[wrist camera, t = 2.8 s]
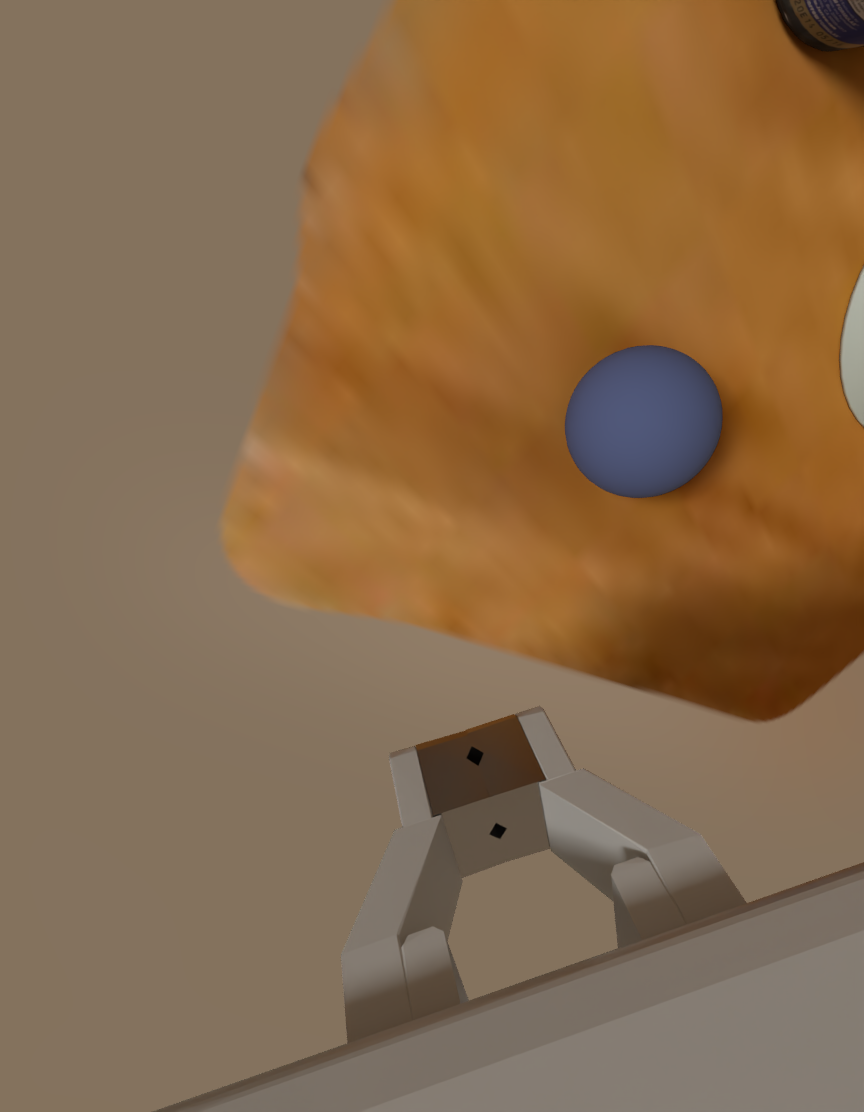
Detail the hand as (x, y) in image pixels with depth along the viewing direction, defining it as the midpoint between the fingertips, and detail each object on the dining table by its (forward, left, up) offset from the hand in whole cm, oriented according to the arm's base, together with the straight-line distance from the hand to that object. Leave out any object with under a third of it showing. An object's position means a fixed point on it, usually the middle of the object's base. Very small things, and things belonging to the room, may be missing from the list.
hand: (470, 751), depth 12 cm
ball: (-10, 0, -12) cm, 16 cm away
